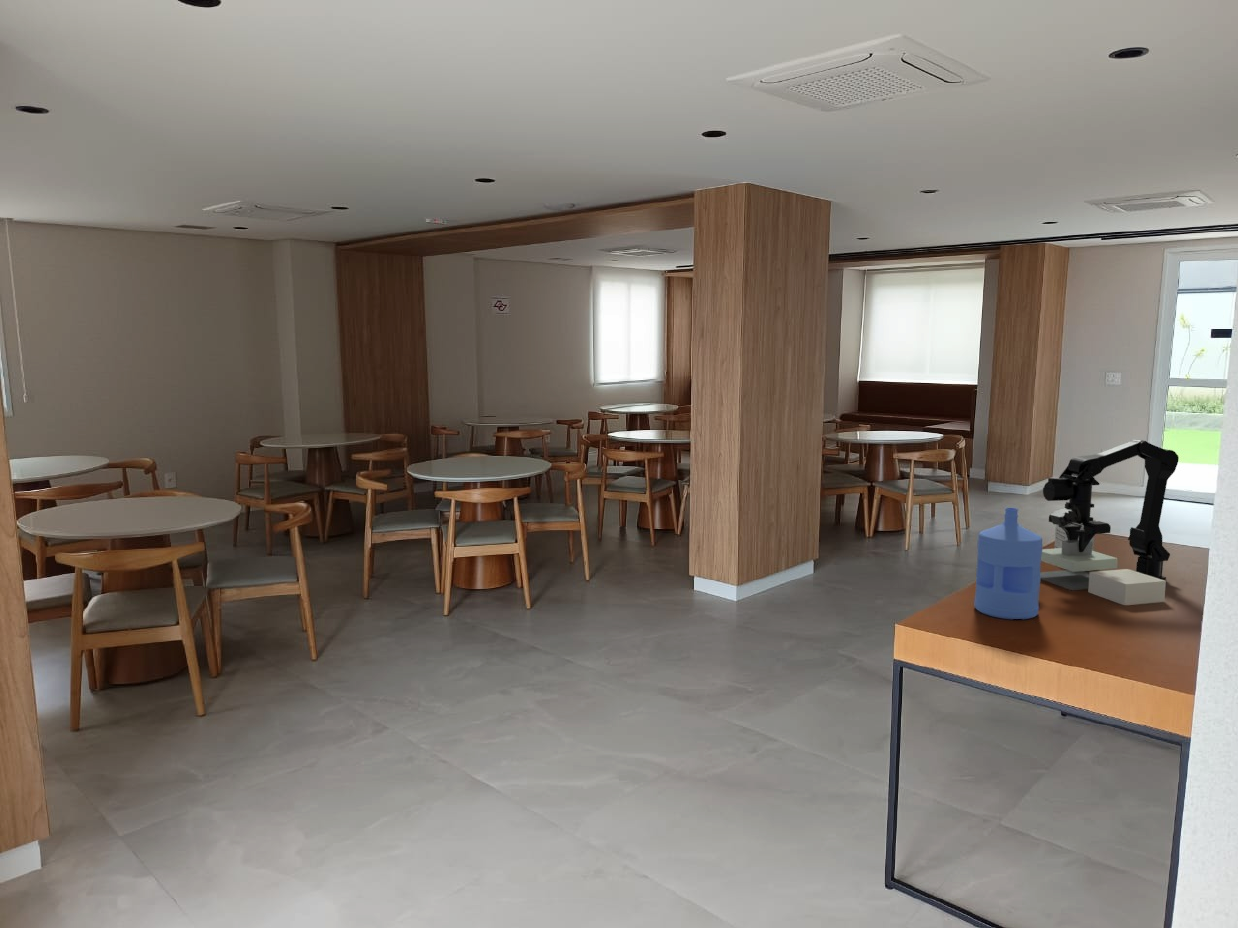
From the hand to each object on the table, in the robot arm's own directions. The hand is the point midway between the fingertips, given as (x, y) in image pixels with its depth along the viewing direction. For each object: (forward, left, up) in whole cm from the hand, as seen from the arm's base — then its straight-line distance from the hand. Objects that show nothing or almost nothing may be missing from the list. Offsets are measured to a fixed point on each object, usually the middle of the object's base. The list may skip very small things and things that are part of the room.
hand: (1076, 550), depth 251 cm
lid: (0, 0, -4) cm, 4 cm away
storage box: (-1, +18, -9) cm, 20 cm away
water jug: (+40, +21, -9) cm, 46 cm away
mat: (0, 0, -9) cm, 9 cm away
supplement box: (-16, -19, -9) cm, 26 cm away
